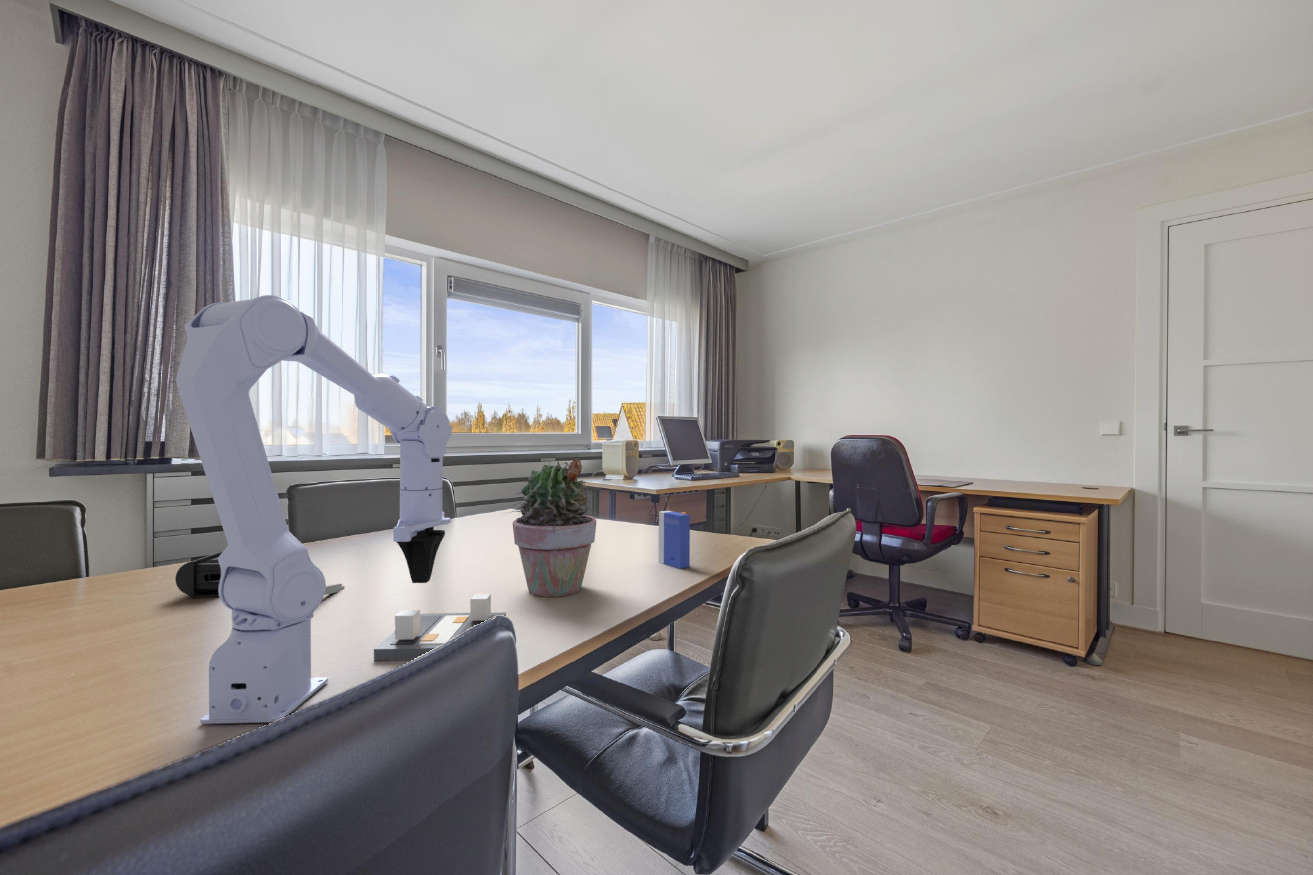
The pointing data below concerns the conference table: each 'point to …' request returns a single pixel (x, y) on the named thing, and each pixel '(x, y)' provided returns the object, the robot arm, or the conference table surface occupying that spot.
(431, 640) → the dip bank
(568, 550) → the potted plant
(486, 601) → the switch
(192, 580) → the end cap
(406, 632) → the switch
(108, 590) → the conference table surface
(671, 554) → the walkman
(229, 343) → the robot arm
